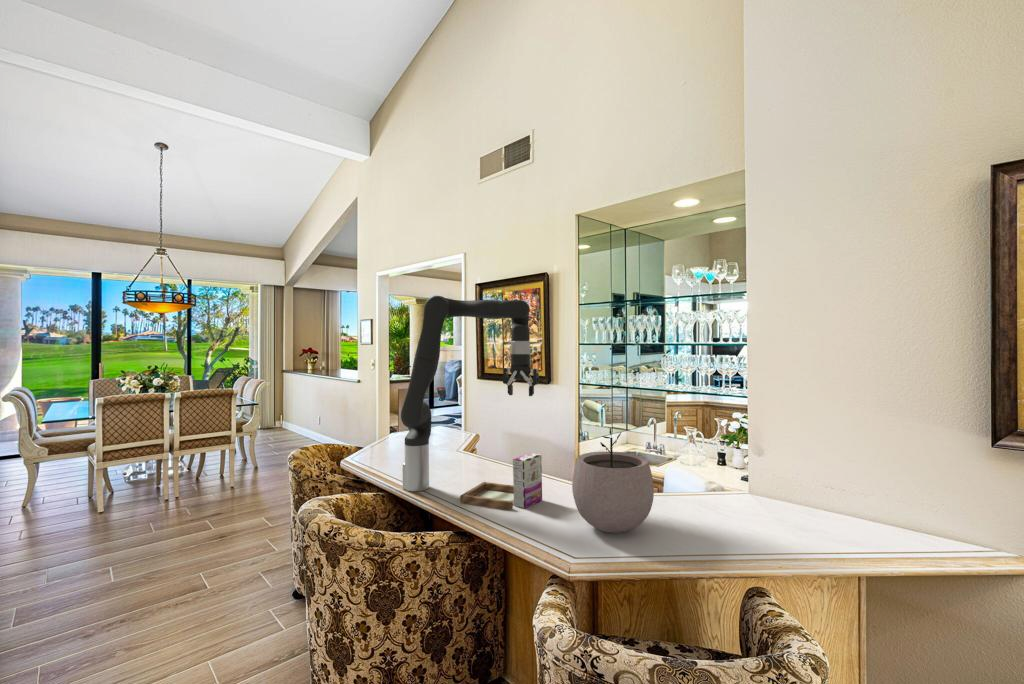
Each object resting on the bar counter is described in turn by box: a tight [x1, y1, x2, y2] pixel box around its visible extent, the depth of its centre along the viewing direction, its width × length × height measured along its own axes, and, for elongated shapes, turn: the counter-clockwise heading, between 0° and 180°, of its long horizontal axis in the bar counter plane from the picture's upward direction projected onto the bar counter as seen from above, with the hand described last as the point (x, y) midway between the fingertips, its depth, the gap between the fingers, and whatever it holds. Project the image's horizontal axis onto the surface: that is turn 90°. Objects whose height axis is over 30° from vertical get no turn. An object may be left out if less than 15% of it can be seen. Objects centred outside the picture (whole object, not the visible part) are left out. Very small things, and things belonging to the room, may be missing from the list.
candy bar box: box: [512, 452, 543, 509], centre depth 164 cm, size 11×5×16 cm, turn 143°
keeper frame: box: [459, 481, 514, 511], centre depth 169 cm, size 20×18×2 cm
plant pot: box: [571, 427, 655, 534], centre depth 141 cm, size 24×24×30 cm
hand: (520, 395), depth 180 cm, fingers open, 8 cm apart
